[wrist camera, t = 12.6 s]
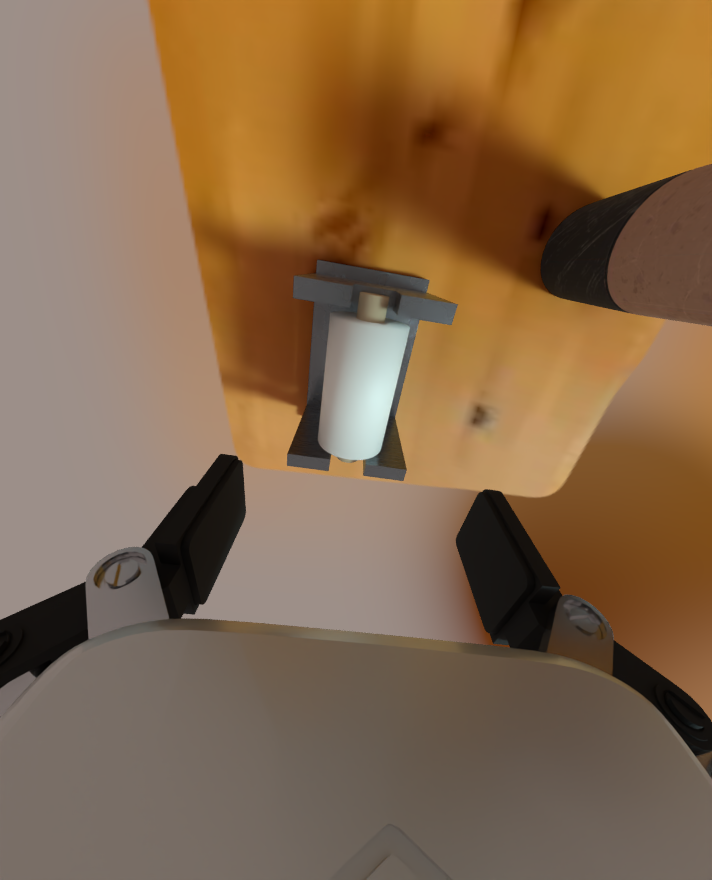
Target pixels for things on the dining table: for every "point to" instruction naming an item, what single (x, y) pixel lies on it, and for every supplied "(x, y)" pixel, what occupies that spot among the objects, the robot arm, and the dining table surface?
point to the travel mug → (639, 251)
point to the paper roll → (360, 378)
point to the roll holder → (329, 293)
